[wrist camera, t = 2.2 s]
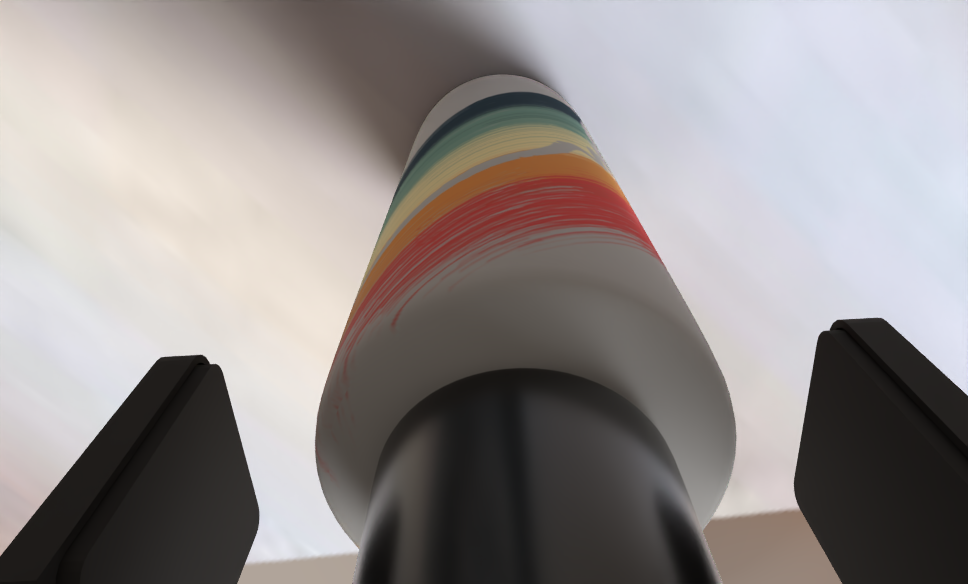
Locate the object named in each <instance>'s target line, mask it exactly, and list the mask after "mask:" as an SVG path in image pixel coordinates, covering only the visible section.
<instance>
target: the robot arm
mask: <svg viewBox="0 0 968 584" xmlns="http://www.w3.org/2000/svg"><path fill="white" fill-rule="evenodd" d="M794 491H795V497H796V500H797V503H798V506H799V508H800V510H801V511H802V513H803V515H804V517H805V518H806V520H807V522H808V524H809V525H810V527H811V529H812V531H813V533H814V534H815V536H816V538H817V540H818V541H819V543H820V545H821V547H822V548H823V550H824V552H825V554H826V555H827V557H828V559H829V561H830V562H831V564H832V566H833V568H834V570H835V571H836V573H837V575H838V577H839V578H840V580H841V582H842V584H968V396H967V395H966V394H965V393H964V392H963V391H962V390H961V389H960V388H959V387H958V386H956V385H955V384H954V383H953V382H952V381H951V380H950V379H949V378H948V377H947V376H946V375H945V374H943V373H942V372H941V371H940V370H939V369H938V368H937V367H936V366H935V365H934V364H933V363H931V362H930V361H929V360H928V359H927V358H926V357H925V356H924V355H923V354H922V353H921V352H919V351H918V350H917V349H916V348H915V347H914V346H913V345H912V344H911V343H910V342H909V341H907V340H906V339H905V338H904V337H903V336H902V335H901V334H900V333H899V332H898V331H897V330H895V329H894V328H893V327H892V326H891V325H890V324H889V323H888V322H887V321H885V320H884V319H882V318H864V319H846V320H837V321H835V322H834V323H833V324H832V326H831V328H830V331H823V332H821V334H820V335H819V337H818V341H817V346H816V352H815V358H814V364H813V370H812V376H811V382H810V388H809V394H808V400H807V406H806V412H805V418H804V424H803V430H802V436H801V442H800V448H799V454H798V460H797V466H796V472H795V478H794ZM258 525H259V507H258V503H257V499H256V495H255V492H254V488H253V484H252V480H251V477H250V473H249V469H248V465H247V462H246V458H245V454H244V450H243V447H242V443H241V439H240V435H239V432H238V428H237V424H236V420H235V417H234V413H233V409H232V405H231V402H230V398H229V394H228V390H227V387H226V383H225V379H224V376H223V372H222V370H221V368H220V367H219V365H217V364H210V363H209V361H208V360H207V358H206V357H205V356H203V355H191V356H172V357H161V358H160V359H158V360H157V361H156V362H155V364H154V365H153V366H152V367H151V369H150V370H149V371H148V372H147V374H146V375H145V376H144V377H143V379H142V380H141V381H140V382H139V384H138V385H137V386H136V387H135V389H134V390H133V391H132V392H131V394H130V395H129V396H128V397H127V399H126V400H125V401H124V402H123V404H122V405H121V406H120V407H119V409H118V410H117V411H116V412H115V414H114V415H113V416H112V417H111V419H110V420H109V421H108V422H107V424H106V425H105V426H104V427H103V429H102V430H101V431H100V432H99V434H98V435H97V436H96V437H95V439H94V440H93V441H92V442H91V444H90V445H89V446H88V447H87V449H86V450H85V451H84V452H83V454H82V455H81V456H80V457H79V459H78V460H77V461H76V462H75V464H74V465H73V466H72V467H71V469H70V470H69V471H68V472H67V474H66V475H65V476H64V477H63V479H62V480H61V481H60V482H59V484H58V485H57V486H56V487H55V489H54V490H53V491H52V492H51V494H50V495H49V496H48V497H47V499H46V500H45V501H44V502H43V504H42V505H41V506H40V507H39V509H38V510H37V511H36V512H35V514H34V515H33V516H32V517H31V519H30V520H29V521H28V522H27V524H26V525H25V526H24V527H23V529H22V530H21V531H20V532H19V534H18V535H17V536H16V537H15V539H14V540H13V541H12V542H11V544H10V545H9V546H8V547H7V549H6V550H5V551H4V552H3V554H2V555H1V556H0V584H237V582H238V580H239V577H240V575H241V572H242V570H243V567H244V565H245V562H246V559H247V557H248V554H249V552H250V549H251V547H252V544H253V541H254V539H255V536H256V534H257V530H258Z"/></svg>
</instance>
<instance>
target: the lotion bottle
mask: <svg viewBox="0 0 968 584" xmlns="http://www.w3.org/2000/svg"><path fill="white" fill-rule="evenodd" d="M735 452H736V426H735V418H734V413H733V407H732V403H731V398H730V394H729V391H728V388H727V385H726V382H725V379H724V376H723V374H722V372H721V370H720V368H719V366H718V364H717V361H716V359H715V357H714V355H713V353H712V351H711V349H710V347H709V345H708V343H707V341H706V339H705V337H704V335H703V333H702V332H701V330H700V328H699V326H698V324H697V322H696V321H695V319H694V317H693V315H692V313H691V312H690V310H689V308H688V306H687V304H686V302H685V301H684V299H683V297H682V295H681V294H680V292H679V290H678V288H677V287H676V285H675V283H674V281H673V279H672V278H671V276H670V274H669V272H668V271H667V269H666V267H665V265H664V264H663V262H662V260H661V258H660V257H659V255H658V253H657V251H656V250H655V248H654V246H653V244H652V243H651V241H650V239H649V237H648V236H647V234H646V232H645V230H644V229H643V227H642V225H641V223H640V222H639V220H638V218H637V216H636V215H635V213H634V211H633V209H632V208H631V206H630V204H629V202H628V201H627V199H626V197H625V195H624V194H623V192H622V190H621V188H620V187H619V185H618V183H617V181H616V180H615V178H614V176H613V174H612V173H611V171H610V169H609V167H608V166H607V164H606V162H605V160H604V159H603V157H602V155H601V153H600V152H599V150H598V148H597V146H596V144H595V143H594V141H593V139H592V137H591V136H590V134H589V132H588V131H587V129H586V127H585V126H584V124H583V123H582V121H581V119H580V118H579V116H578V115H577V114H576V112H575V111H574V110H573V108H572V107H571V106H570V105H569V104H568V103H567V102H566V101H565V100H564V99H563V98H562V97H561V96H560V95H559V94H557V93H556V92H555V91H553V90H552V89H550V88H549V87H547V86H545V85H544V84H542V83H540V82H537V81H535V80H532V79H529V78H526V77H522V76H517V75H507V74H500V75H489V76H484V77H479V78H476V79H473V80H470V81H468V82H466V83H464V84H462V85H460V86H458V87H456V88H455V89H453V90H452V91H450V92H449V93H448V94H446V95H445V96H444V97H443V98H442V99H441V100H440V101H439V102H438V103H437V104H436V105H435V106H434V107H433V109H432V110H431V111H430V113H429V114H428V115H427V117H426V119H425V120H424V122H423V124H422V126H421V128H420V130H419V132H418V134H417V137H416V139H415V141H414V144H413V147H412V149H411V152H410V155H409V157H408V160H407V163H406V165H405V168H404V171H403V173H402V176H401V179H400V181H399V184H398V187H397V189H396V192H395V195H394V197H393V200H392V203H391V205H390V208H389V211H388V213H387V216H386V219H385V222H384V224H383V227H382V230H381V232H380V235H379V238H378V240H377V243H376V246H375V248H374V251H373V254H372V256H371V259H370V262H369V264H368V267H367V270H366V272H365V275H364V278H363V280H362V283H361V286H360V288H359V291H358V294H357V297H356V299H355V302H354V305H353V307H352V310H351V313H350V316H349V318H348V321H347V324H346V327H345V329H344V332H343V335H342V338H341V340H340V343H339V346H338V349H337V352H336V354H335V357H334V360H333V363H332V366H331V369H330V372H329V375H328V378H327V381H326V384H325V387H324V391H323V394H322V397H321V402H320V406H319V410H318V415H317V425H316V437H315V453H316V464H317V471H318V476H319V480H320V483H321V487H322V490H323V493H324V495H325V498H326V500H327V503H328V505H329V507H330V509H331V511H332V513H333V514H334V516H335V518H336V520H337V521H338V523H339V524H340V526H341V527H342V529H343V530H344V531H345V533H346V534H347V535H348V536H349V538H350V539H351V540H352V541H353V542H354V544H355V545H356V546H357V547H358V548H359V553H358V558H357V563H356V568H355V573H354V578H353V583H352V584H723V582H722V580H721V577H720V575H719V572H718V569H717V567H716V564H715V562H714V559H713V557H712V554H711V551H710V549H709V546H708V544H707V541H706V538H705V536H704V533H703V529H704V528H705V527H706V525H707V524H708V522H709V521H710V520H711V518H712V516H713V515H714V513H715V511H716V509H717V508H718V506H719V504H720V502H721V500H722V498H723V496H724V493H725V491H726V489H727V487H728V483H729V480H730V477H731V474H732V470H733V465H734V459H735Z"/></svg>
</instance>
